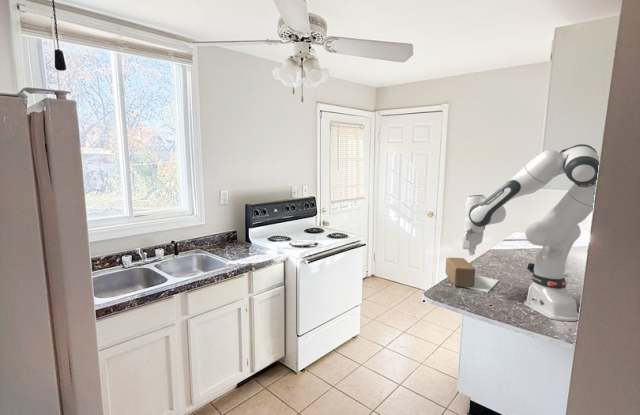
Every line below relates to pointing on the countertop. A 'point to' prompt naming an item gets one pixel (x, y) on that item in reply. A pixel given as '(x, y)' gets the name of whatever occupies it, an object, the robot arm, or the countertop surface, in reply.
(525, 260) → the countertop surface
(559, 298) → the robot arm
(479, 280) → the mat
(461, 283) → the wooden block
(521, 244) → the countertop surface
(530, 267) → the can opener
